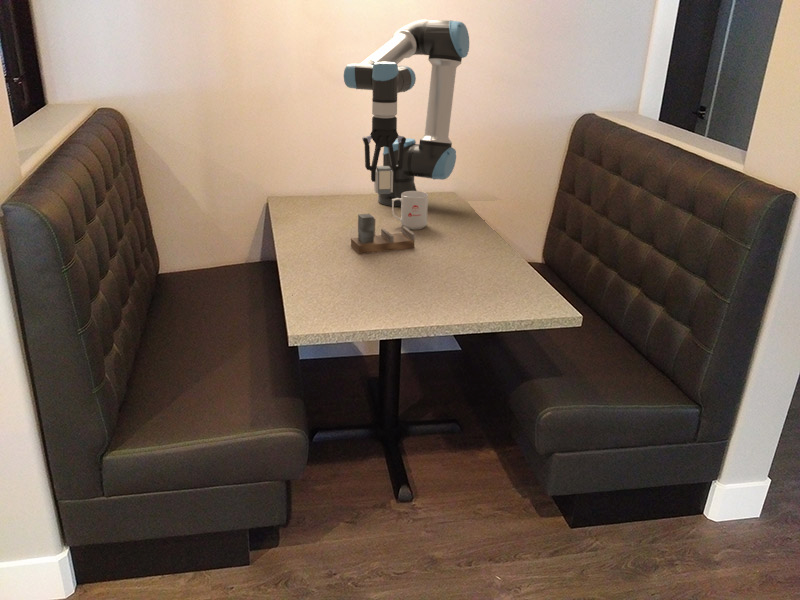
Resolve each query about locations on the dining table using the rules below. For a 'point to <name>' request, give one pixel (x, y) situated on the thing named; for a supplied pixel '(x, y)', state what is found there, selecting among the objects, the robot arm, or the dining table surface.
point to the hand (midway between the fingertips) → (383, 191)
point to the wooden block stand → (379, 237)
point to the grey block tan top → (384, 179)
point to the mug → (413, 209)
